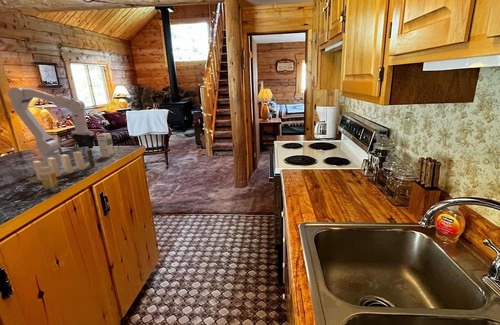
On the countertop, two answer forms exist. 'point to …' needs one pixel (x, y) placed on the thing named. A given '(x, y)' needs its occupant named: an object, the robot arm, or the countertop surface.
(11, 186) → the countertop surface
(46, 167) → the supplement bottle
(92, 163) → the domino
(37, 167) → the domino
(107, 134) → the syrup box
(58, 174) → the domino
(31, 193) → the countertop surface
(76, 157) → the domino
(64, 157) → the domino
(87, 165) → the mat
